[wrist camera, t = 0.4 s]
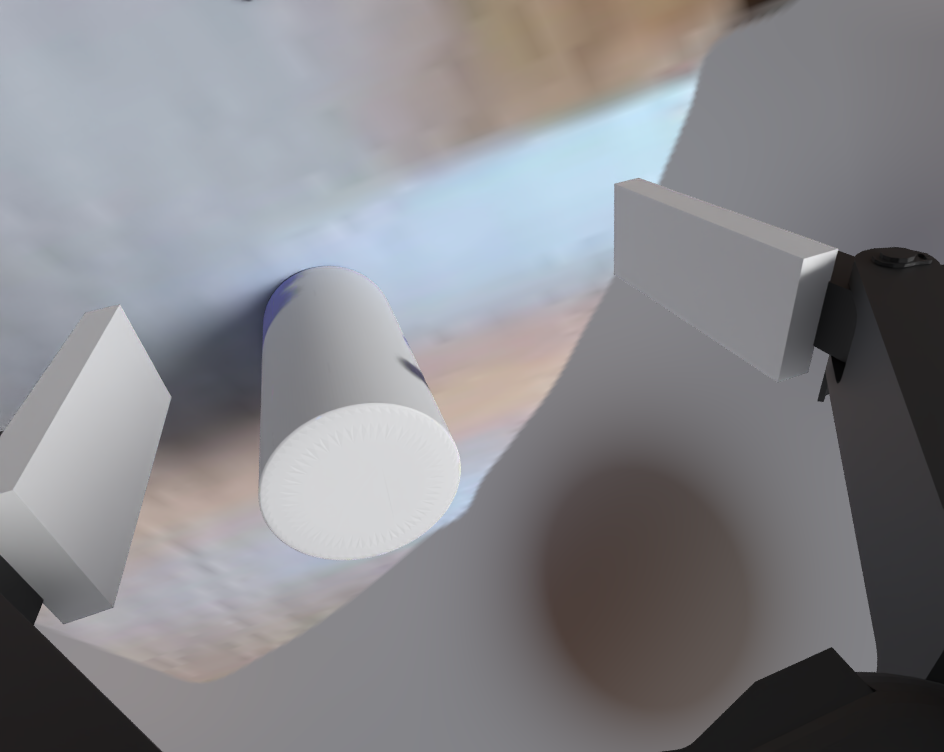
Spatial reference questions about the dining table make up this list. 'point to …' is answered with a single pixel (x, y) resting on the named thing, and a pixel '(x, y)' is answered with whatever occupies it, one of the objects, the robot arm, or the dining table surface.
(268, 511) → the container
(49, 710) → the robot arm
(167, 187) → the dining table surface
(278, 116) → the dining table surface
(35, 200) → the dining table surface
